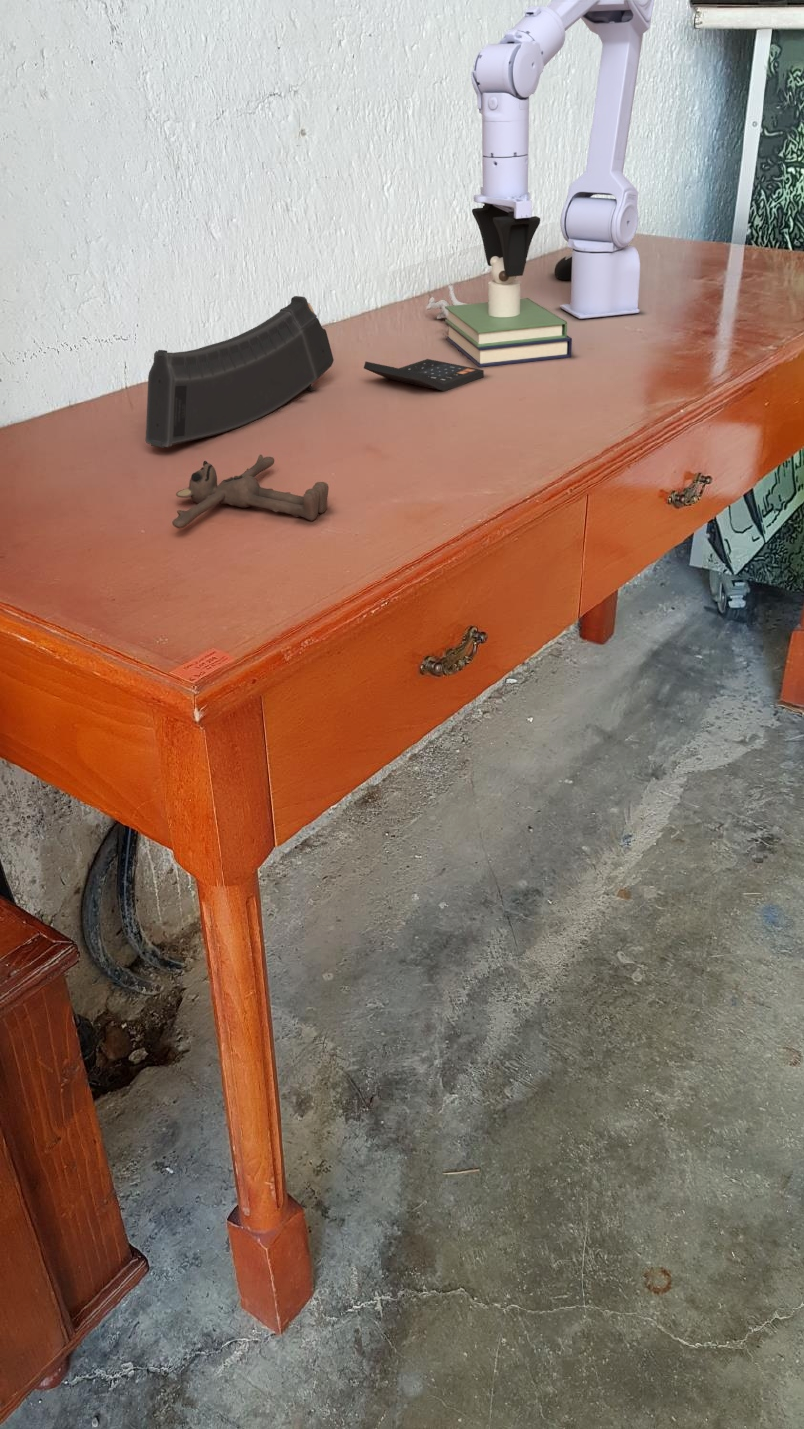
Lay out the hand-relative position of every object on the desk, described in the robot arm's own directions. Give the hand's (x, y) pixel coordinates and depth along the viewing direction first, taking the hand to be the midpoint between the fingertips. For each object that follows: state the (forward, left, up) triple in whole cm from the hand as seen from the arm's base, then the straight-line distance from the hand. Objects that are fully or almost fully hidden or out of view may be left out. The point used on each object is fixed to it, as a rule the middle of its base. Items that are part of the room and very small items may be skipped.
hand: (504, 270), depth 149 cm
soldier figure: (+2, -14, -10) cm, 17 cm away
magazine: (+37, +19, -10) cm, 43 cm away
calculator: (+14, +12, -10) cm, 21 cm away
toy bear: (0, 0, -5) cm, 5 cm away
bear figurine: (+40, +47, -10) cm, 63 cm away
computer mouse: (-28, -38, -10) cm, 48 cm away
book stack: (0, +1, -10) cm, 10 cm away
